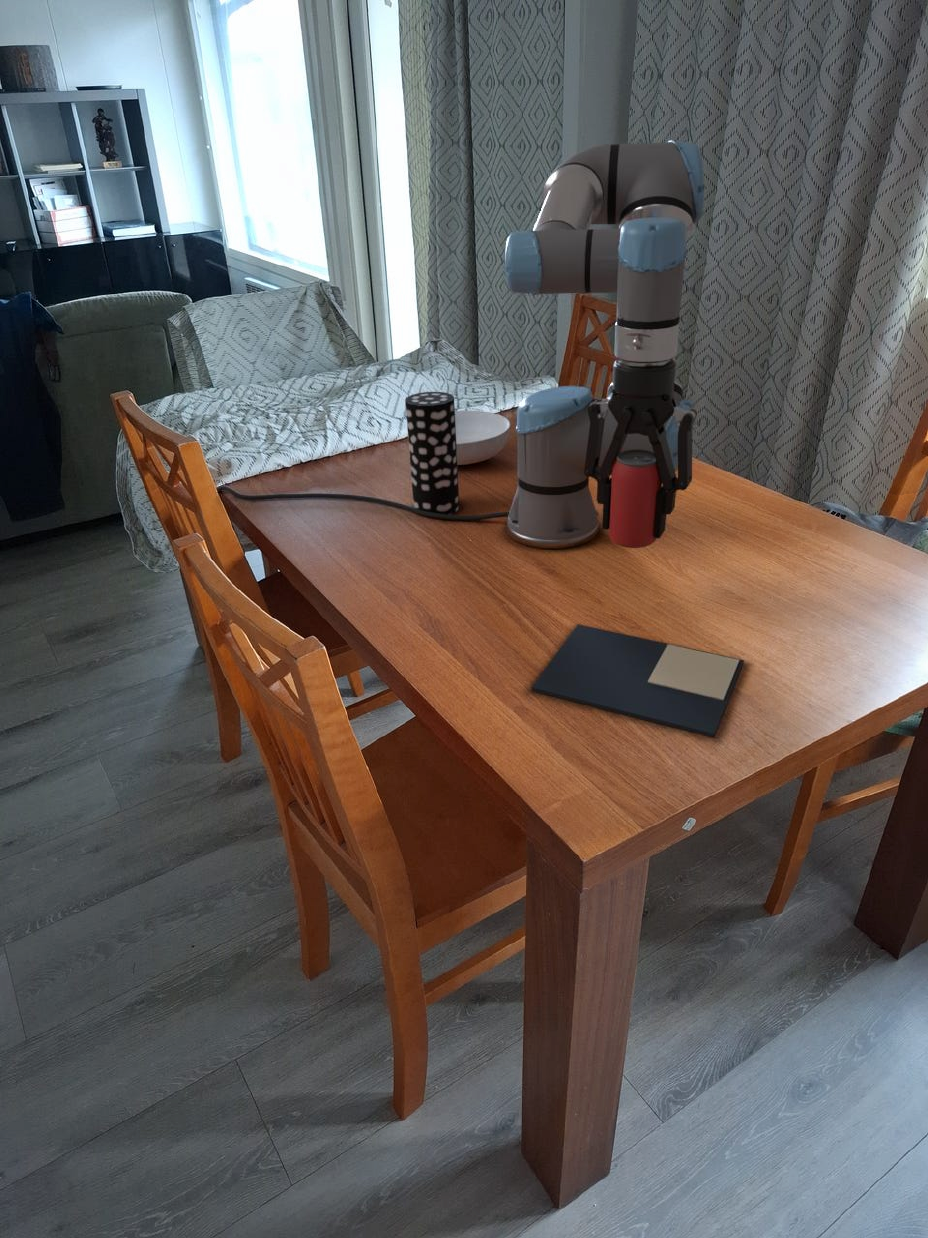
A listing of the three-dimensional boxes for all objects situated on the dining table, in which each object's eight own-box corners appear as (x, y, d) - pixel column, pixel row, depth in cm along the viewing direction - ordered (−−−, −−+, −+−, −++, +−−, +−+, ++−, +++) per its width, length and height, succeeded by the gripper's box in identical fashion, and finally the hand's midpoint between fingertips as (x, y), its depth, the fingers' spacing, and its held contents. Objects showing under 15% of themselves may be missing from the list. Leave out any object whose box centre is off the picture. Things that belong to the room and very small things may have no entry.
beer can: (646, 554, 110) (653, 468, 104) (600, 544, 113) (604, 460, 107) (664, 534, 114) (671, 451, 108) (619, 525, 118) (624, 444, 111)
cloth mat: (531, 691, 100) (531, 685, 100) (577, 627, 112) (577, 622, 112) (714, 738, 91) (715, 732, 91) (743, 663, 103) (744, 658, 103)
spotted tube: (406, 514, 148) (396, 403, 138) (425, 496, 155) (417, 390, 144) (448, 519, 145) (442, 407, 135) (466, 501, 152) (461, 393, 141)
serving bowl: (408, 445, 180) (405, 414, 177) (503, 437, 182) (502, 406, 178) (413, 479, 162) (411, 446, 159) (518, 471, 164) (518, 437, 160)
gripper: (558, 360, 102) (556, 529, 114) (718, 373, 94) (698, 553, 106) (580, 346, 108) (575, 508, 120) (732, 357, 100) (711, 529, 112)
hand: (633, 529), depth 113 cm, fingers closed on beer can, 6 cm apart
